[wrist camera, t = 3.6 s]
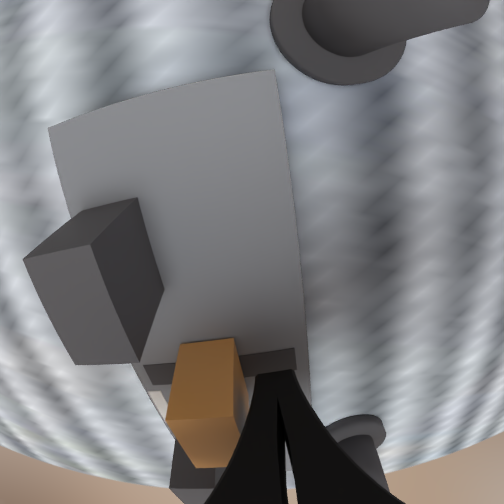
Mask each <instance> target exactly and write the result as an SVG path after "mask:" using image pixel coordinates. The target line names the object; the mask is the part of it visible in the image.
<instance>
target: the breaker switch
mask: <svg viewBox="0 0 504 504" xmlns="http://www.w3.org/2000/svg"><path fill="white" fill-rule="evenodd" d="M248 411H249V395H248V391H247V387H246V383H245V379H244V376H243V372H242V368H241V364H240V360H239V357H238V353H237V349H236V345H235V341H234V338H228V339H220V340H212V341H204V342H195V343H186V344H180V346H179V351H178V356H177V361H176V366H175V371H174V376H173V381H172V386H171V391H170V397H169V402H168V407H167V413H166V418H165V421H166V422H167V424H168V426H169V427H170V429H171V431H172V432H173V434H174V435H175V437H176V439H177V440H178V442H179V443H180V445H181V446H182V448H183V450H184V451H185V453H186V454H187V456H188V457H189V459H190V460H191V462H192V463H193V464H194V466H195V467H196V468H217V467H227V465H228V463H229V461H230V459H231V457H232V455H233V452H234V450H235V448H236V445H237V443H238V440H239V438H240V435H241V433H242V430H243V427H244V424H245V421H246V418H247V415H248Z"/></svg>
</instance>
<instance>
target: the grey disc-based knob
mask: <svg viewBox="0 0 504 504" xmlns="http://www.w3.org/2000/svg"><path fill="white" fill-rule="evenodd" d="M489 1H490V0H273V3H272V6H271V11H270V27H271V32H272V35H273V38H274V40H275V43H276V45H277V47H278V48H279V50H280V52H281V53H282V54H283V56H284V57H285V58H286V59H287V60H288V61H289V62H290V63H291V64H292V65H293V66H294V67H295V68H297V69H298V70H299V71H301V72H302V73H304V74H305V75H307V76H309V77H311V78H313V79H315V80H318V81H321V82H324V83H328V84H334V85H354V84H360V83H366V82H370V81H373V80H376V79H379V78H380V77H382V76H384V75H386V74H387V73H388V72H390V71H391V70H392V69H393V68H394V67H395V66H396V65H397V63H398V62H399V60H400V59H401V57H402V55H403V53H404V50H405V46H406V40H409V39H412V38H415V37H419V36H422V35H426V34H429V33H433V32H436V31H440V30H444V29H448V28H452V27H456V26H460V25H464V24H469V23H472V22H475V21H477V20H478V19H480V18H481V17H482V16H483V15H484V14H485V12H486V10H487V8H488V5H489Z"/></svg>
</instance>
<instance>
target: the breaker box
mask: <svg viewBox="0 0 504 504" xmlns="http://www.w3.org/2000/svg"><path fill="white" fill-rule="evenodd" d="M48 132H49V137H50V141H51V146H52V150H53V155H54V159H55V163H56V167H57V171H58V175H59V178H60V182H61V186H62V189H63V193H64V196H65V200H66V203H67V206H68V210H69V213H70V216H71V219H70V220H69V221H68V222H66V223H65V224H64V225H63V226H61V227H60V228H59V229H58V230H56V231H55V232H54V233H53V234H52V235H50V236H49V237H48V238H47V239H46V240H44V241H43V242H42V243H41V244H40V245H38V246H37V247H36V248H35V249H34V250H33V251H31V252H30V253H29V254H28V255H27V256H26V257H25V258H24V259H23V261H24V264H25V266H26V268H27V271H28V273H29V276H30V278H31V280H32V282H33V285H34V287H35V289H36V291H37V294H38V296H39V298H40V300H41V302H42V304H43V306H44V308H45V310H46V312H47V314H48V316H49V318H50V320H51V322H52V324H53V326H54V328H55V330H56V332H57V334H58V335H59V337H60V339H61V341H62V343H63V344H64V346H65V348H66V350H67V352H68V353H69V355H70V357H71V358H72V360H73V362H74V363H75V365H101V364H126V363H131V364H132V366H133V368H134V370H135V372H136V374H137V376H138V378H139V379H140V381H141V383H142V385H143V387H144V389H145V390H146V392H147V394H148V396H149V398H150V399H151V401H152V403H153V404H154V406H155V408H156V410H157V411H158V413H159V415H160V416H161V418H162V420H163V421H164V423H165V425H166V426H167V428H168V429H169V431H170V433H171V434H172V436H173V437H174V439H175V446H174V454H173V461H172V469H171V478H170V486H169V489H170V490H171V491H172V492H173V493H174V494H175V495H176V496H177V497H178V498H179V499H180V500H181V501H182V502H183V503H184V504H204V503H205V501H206V500H207V498H208V497H209V496H210V494H211V493H212V491H213V489H214V488H215V486H216V485H217V483H218V481H219V479H220V478H221V476H222V474H223V472H224V471H225V469H226V467H217V468H196V467H195V466H194V464H193V463H192V462H191V460H190V459H189V457H188V456H187V454H186V453H185V451H184V450H183V448H182V446H181V445H180V443H179V442H178V440H177V439H176V437H175V435H174V434H173V432H172V431H171V429H170V427H169V426H168V424H167V422H166V421H165V418H166V413H167V407H168V402H169V397H170V391H171V386H172V381H173V376H174V371H175V366H176V361H177V356H178V351H179V346H180V344H186V343H195V342H204V341H212V340H220V339H228V338H234V341H235V345H236V349H237V353H238V357H239V360H240V364H241V368H242V372H243V376H244V379H245V383H246V387H247V391H248V395H249V408H250V404H251V400H252V396H253V390H254V384H255V376H256V375H257V374H262V373H269V372H275V371H282V370H288V369H292V370H294V371H295V374H296V377H297V380H298V382H299V384H300V386H301V389H302V391H303V392H304V394H305V396H306V398H307V400H308V402H309V403H310V405H311V387H310V371H309V356H308V342H307V329H306V317H305V305H304V294H303V283H302V273H301V263H300V253H299V244H298V234H297V225H296V217H295V208H294V200H293V192H292V184H291V176H290V169H289V161H288V154H287V147H286V140H285V133H284V126H283V119H282V113H281V106H280V100H279V94H278V87H277V81H276V75H275V69H274V70H265V71H258V72H251V73H244V74H237V75H231V76H225V77H220V78H214V79H209V80H204V81H199V82H194V83H190V84H185V85H181V86H176V87H172V88H168V89H164V90H160V91H156V92H152V93H149V94H145V95H142V96H138V97H135V98H131V99H128V100H124V101H121V102H118V103H115V104H112V105H109V106H106V107H103V108H100V109H97V110H94V111H91V112H88V113H85V114H83V115H80V116H77V117H74V118H72V119H69V120H67V121H64V122H62V123H59V124H57V125H54V126H52V127H49V128H48ZM311 407H312V405H311ZM285 453H286V471H291V470H292V467H291V463H290V459H289V454H288V450H287V446H286V442H285Z"/></svg>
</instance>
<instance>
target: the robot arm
mask: <svg viewBox="0 0 504 504" xmlns="http://www.w3.org/2000/svg"><path fill="white" fill-rule="evenodd" d="M285 442H286V446H287V450H288V454H289V459H290V463H291V467H292V471H293V475H294V479H295V486H296V493H297V501H298V504H405V503H404V502H402V501H401V500H399V499H398V498H397V497H395V496H394V495H392V494H391V493H390V492H388V491H387V490H386V489H385V488H383V487H382V486H381V485H380V484H378V483H377V482H376V481H375V480H374V479H373V478H371V477H370V476H369V475H368V474H367V473H366V472H365V471H364V470H363V469H361V468H360V467H359V466H358V465H357V464H356V463H355V462H354V461H353V460H352V459H351V458H350V456H349V455H348V454H347V453H346V452H345V451H344V450H343V449H342V448H341V446H340V445H339V444H338V443H337V442H336V441H335V439H334V438H333V437H332V436H331V434H330V433H329V432H328V430H327V429H326V428H325V426H324V425H323V423H322V422H321V421H320V419H319V418H318V416H317V414H316V413H315V411H314V410H313V408H312V407H311V405H310V403H309V402H308V400H307V398H306V396H305V394H304V392H303V391H302V389H301V386H300V384H299V382H298V380H297V377H296V374H295V371H294V370H292V369H288V370H282V371H275V372H269V373H262V374H257V375H256V376H255V384H254V390H253V396H252V400H251V404H250V408H249V411H248V415H247V418H246V421H245V424H244V427H243V430H242V433H241V435H240V438H239V440H238V443H237V445H236V448H235V450H234V452H233V455H232V457H231V459H230V461H229V463H228V465H227V467H226V469H225V471H224V472H223V474H222V476H221V478H220V479H219V481H218V483H217V485H216V486H215V488H214V489H213V491H212V493H211V494H210V496H209V497H208V498H207V500H206V501H205V503H204V504H288V497H287V486H286V453H285Z"/></svg>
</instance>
